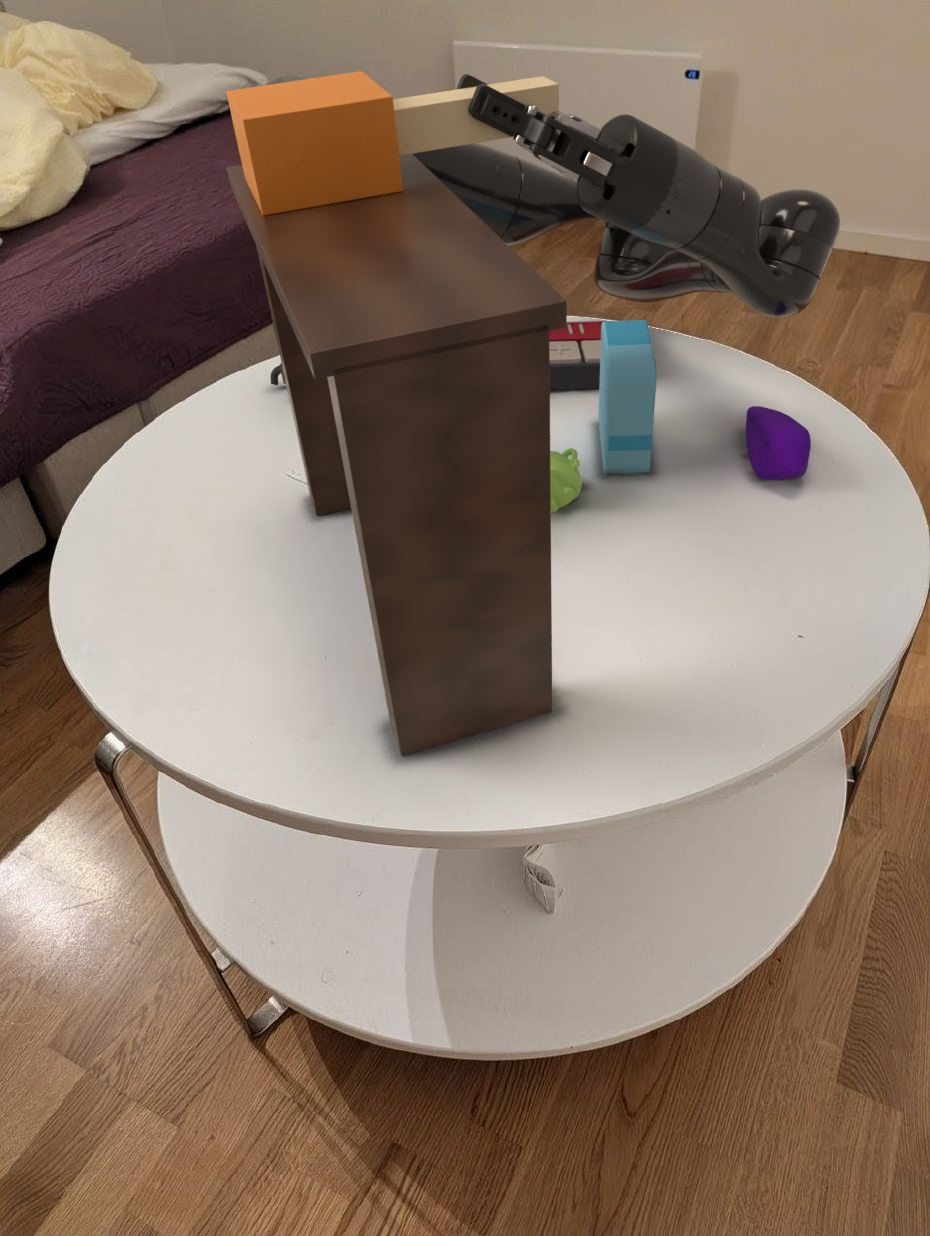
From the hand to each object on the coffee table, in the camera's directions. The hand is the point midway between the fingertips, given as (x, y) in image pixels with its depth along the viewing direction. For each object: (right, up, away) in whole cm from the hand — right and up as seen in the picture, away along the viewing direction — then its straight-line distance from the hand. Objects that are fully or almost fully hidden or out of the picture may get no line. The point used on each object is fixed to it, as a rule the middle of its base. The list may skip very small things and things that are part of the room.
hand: (467, 93), depth 66 cm
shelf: (-5, -35, +16) cm, 39 cm away
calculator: (+11, -8, +45) cm, 47 cm away
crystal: (+31, -22, +28) cm, 47 cm away
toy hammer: (-4, -5, +2) cm, 7 cm away
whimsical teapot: (+8, -27, +25) cm, 37 cm away
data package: (+17, -20, +31) cm, 40 cm away
